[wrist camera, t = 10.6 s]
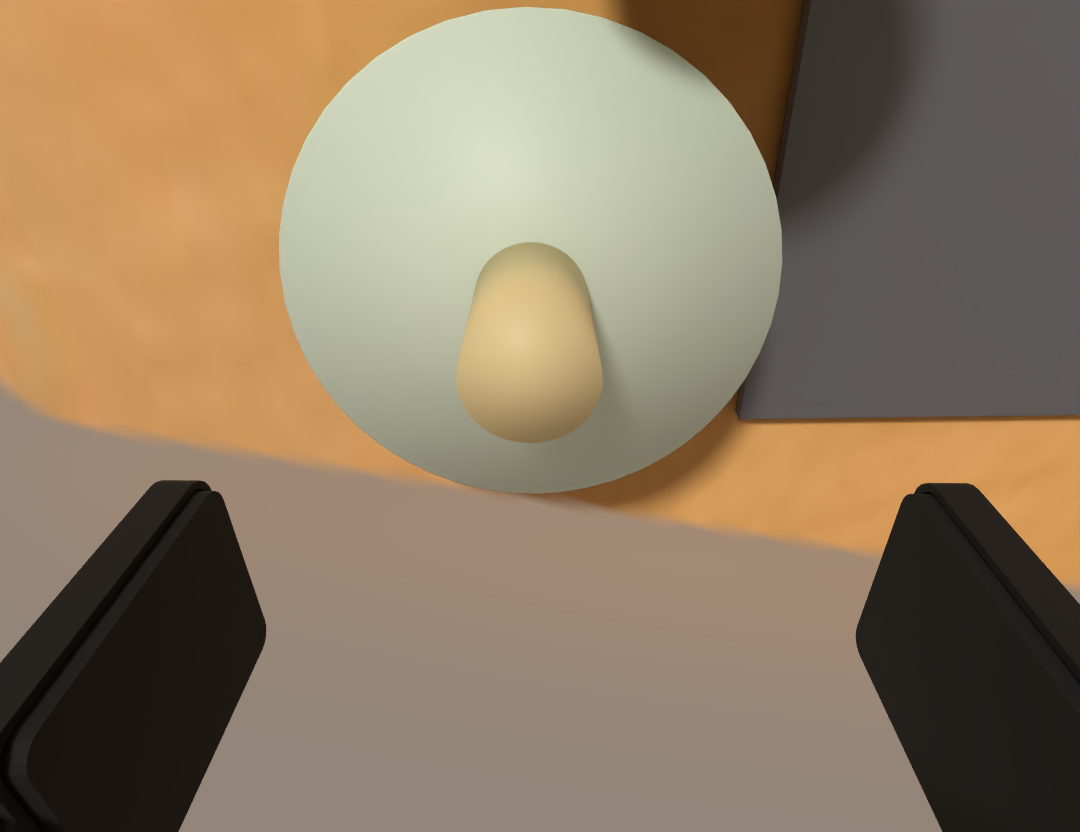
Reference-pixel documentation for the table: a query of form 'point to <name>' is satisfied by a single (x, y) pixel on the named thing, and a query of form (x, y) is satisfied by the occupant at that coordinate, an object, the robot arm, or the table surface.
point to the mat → (927, 214)
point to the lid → (530, 250)
